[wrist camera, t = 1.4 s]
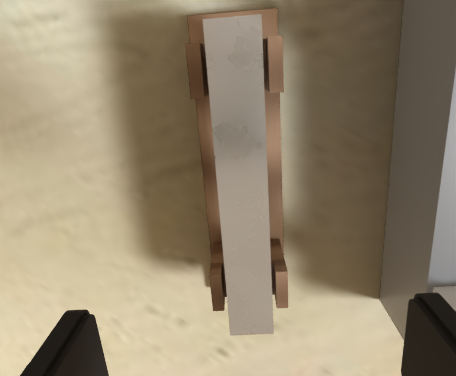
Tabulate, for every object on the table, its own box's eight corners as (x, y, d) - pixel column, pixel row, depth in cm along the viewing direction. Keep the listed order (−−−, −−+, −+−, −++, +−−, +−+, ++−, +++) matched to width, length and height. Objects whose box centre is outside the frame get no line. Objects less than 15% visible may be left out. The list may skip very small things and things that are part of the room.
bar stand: (188, 17, 24) (175, 4, 19) (276, 9, 24) (287, -6, 19) (215, 288, 32) (211, 333, 26) (283, 285, 31) (292, 330, 26)
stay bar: (207, 25, 21) (202, 19, 18) (258, 21, 21) (261, 14, 18) (230, 307, 27) (230, 335, 25) (269, 305, 27) (273, 333, 24)
